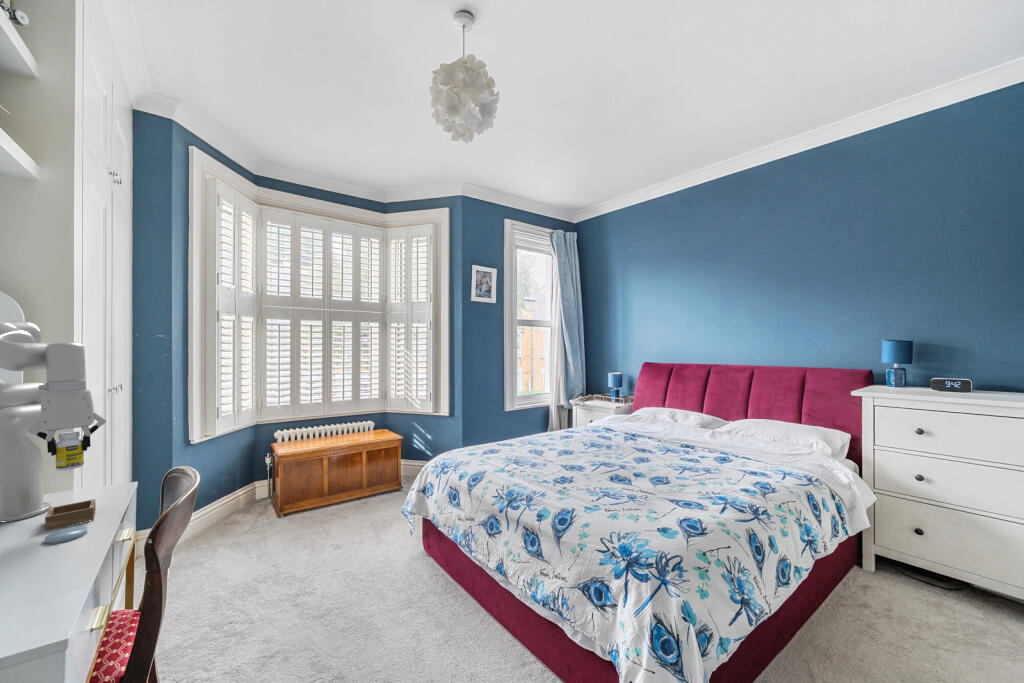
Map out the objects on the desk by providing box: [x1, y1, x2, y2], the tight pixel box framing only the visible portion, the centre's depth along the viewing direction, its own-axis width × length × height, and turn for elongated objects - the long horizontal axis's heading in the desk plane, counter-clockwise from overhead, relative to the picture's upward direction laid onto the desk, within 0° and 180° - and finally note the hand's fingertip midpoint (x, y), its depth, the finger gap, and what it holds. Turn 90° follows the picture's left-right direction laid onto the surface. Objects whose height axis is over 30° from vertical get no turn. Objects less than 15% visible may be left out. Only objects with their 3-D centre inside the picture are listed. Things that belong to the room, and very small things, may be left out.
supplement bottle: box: [55, 430, 85, 472], centre depth 118 cm, size 5×5×10 cm
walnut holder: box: [44, 498, 97, 532], centre depth 119 cm, size 9×9×4 cm
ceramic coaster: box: [44, 525, 88, 545], centre depth 109 cm, size 8×8×1 cm
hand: (69, 451), depth 118 cm, fingers closed on supplement bottle, 5 cm apart
